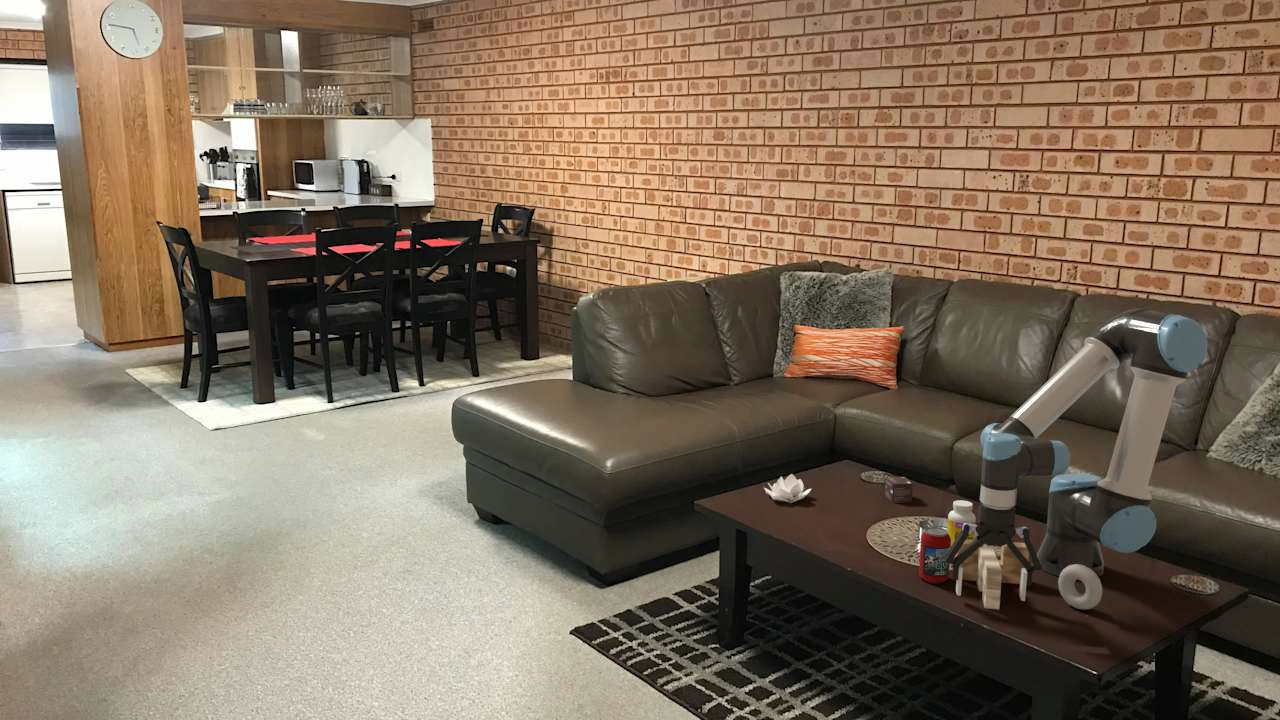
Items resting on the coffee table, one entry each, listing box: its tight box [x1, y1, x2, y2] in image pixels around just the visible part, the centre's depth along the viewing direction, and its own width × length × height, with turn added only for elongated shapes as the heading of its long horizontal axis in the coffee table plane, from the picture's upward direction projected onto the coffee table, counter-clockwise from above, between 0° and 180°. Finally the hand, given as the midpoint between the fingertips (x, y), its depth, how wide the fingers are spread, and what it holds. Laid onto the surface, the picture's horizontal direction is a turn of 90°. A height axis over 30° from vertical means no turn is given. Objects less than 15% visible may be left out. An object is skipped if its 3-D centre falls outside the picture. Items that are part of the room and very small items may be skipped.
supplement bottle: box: [946, 499, 977, 546], centre depth 263 cm, size 7×7×13 cm
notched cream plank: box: [976, 546, 1002, 610], centre depth 236 cm, size 14×3×9 cm, turn 170°
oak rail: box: [954, 539, 1030, 585], centre depth 246 cm, size 16×3×9 cm, turn 80°
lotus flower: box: [763, 473, 812, 504], centre depth 298 cm, size 14×15×9 cm
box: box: [884, 476, 914, 504], centre depth 299 cm, size 6×6×7 cm
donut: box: [1057, 564, 1103, 611], centre depth 230 cm, size 10×4×10 cm, turn 35°
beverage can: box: [918, 526, 951, 584], centre depth 245 cm, size 7×7×12 cm
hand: (990, 595), depth 232 cm, fingers open, 13 cm apart
